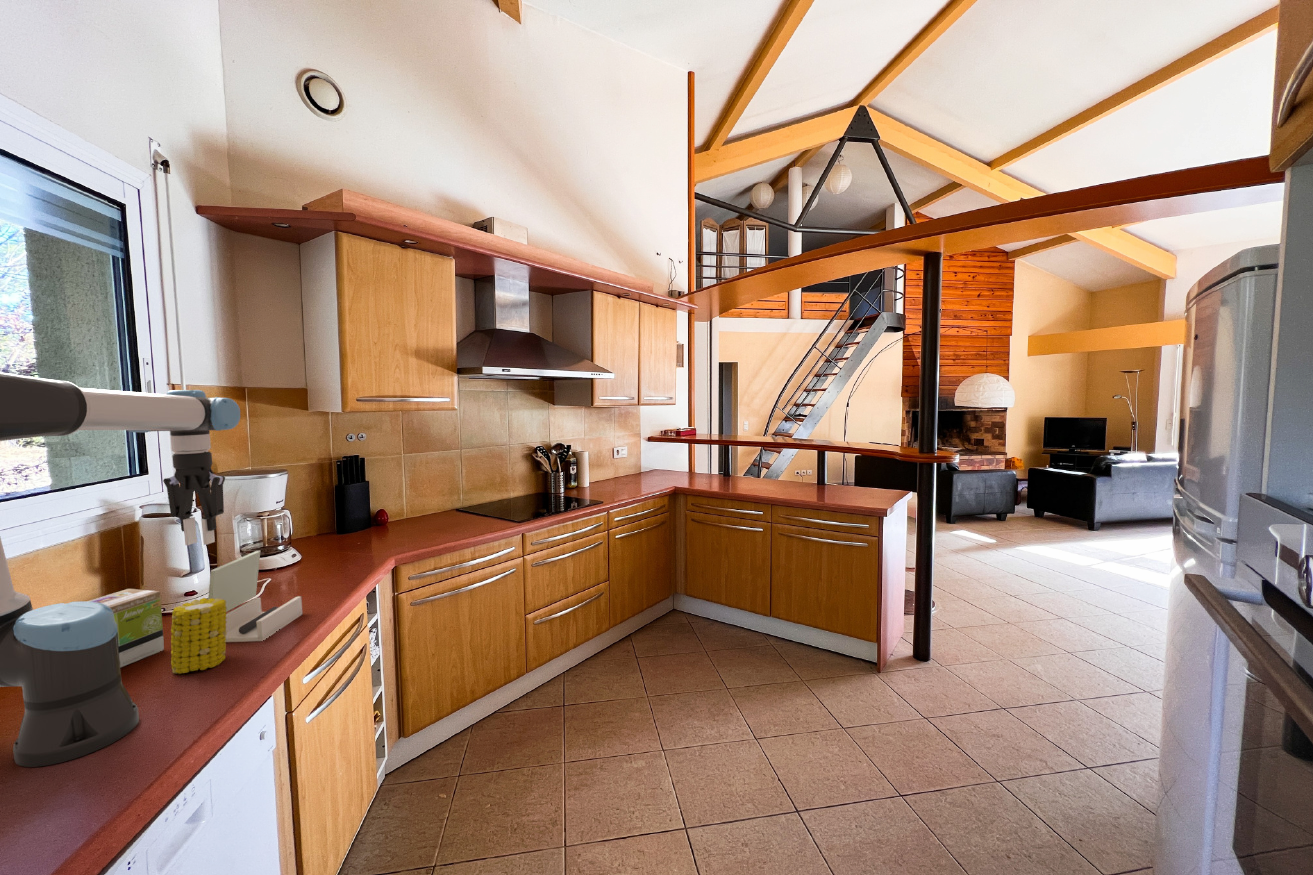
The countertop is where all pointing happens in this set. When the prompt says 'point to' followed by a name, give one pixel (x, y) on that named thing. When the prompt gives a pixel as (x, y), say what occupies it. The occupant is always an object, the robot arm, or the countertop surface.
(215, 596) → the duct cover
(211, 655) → the food
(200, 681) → the countertop surface
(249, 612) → the cable duct
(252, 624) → the dark grey rod
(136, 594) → the tea box
